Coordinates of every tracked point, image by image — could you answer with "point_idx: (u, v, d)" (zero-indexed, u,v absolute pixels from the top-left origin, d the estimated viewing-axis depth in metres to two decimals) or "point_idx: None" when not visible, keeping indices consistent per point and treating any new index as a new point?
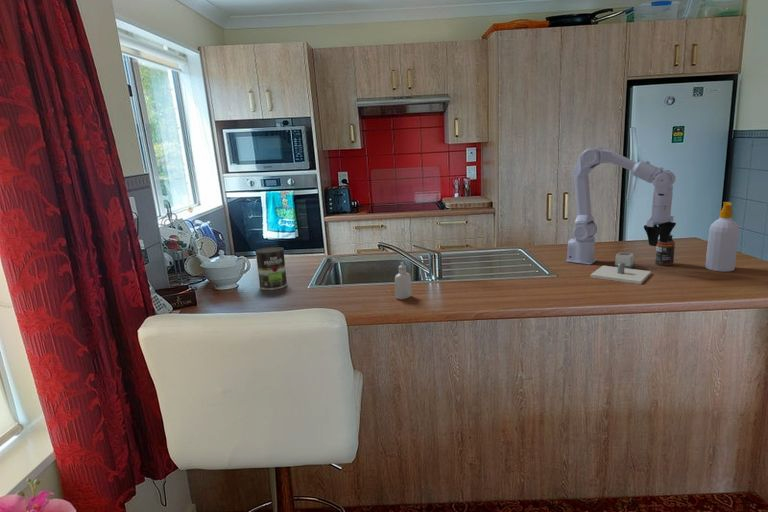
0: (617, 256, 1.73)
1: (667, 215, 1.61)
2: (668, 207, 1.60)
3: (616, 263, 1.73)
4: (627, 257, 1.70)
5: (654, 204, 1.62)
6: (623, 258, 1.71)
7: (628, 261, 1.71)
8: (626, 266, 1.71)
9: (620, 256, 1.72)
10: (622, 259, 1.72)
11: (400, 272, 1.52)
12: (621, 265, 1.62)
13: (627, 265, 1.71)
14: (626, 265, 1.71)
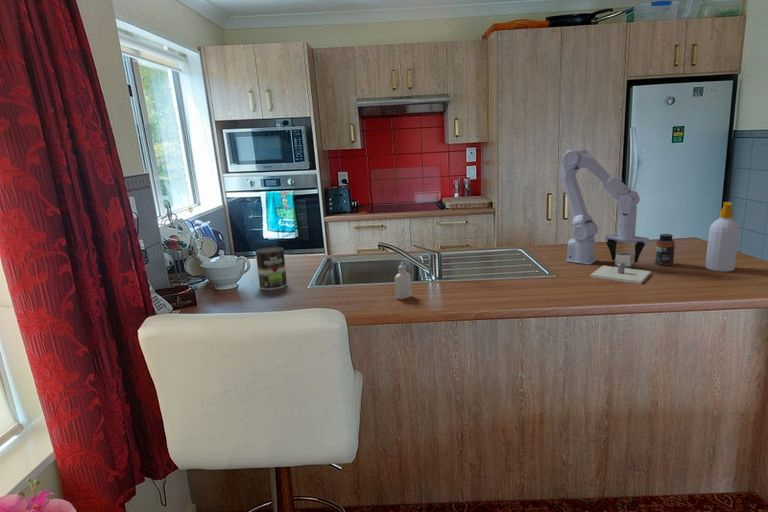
0: (617, 256, 1.73)
1: (621, 233, 1.70)
2: (622, 226, 1.69)
3: (616, 263, 1.73)
4: (627, 257, 1.70)
5: (619, 223, 1.70)
6: (623, 258, 1.71)
7: (628, 261, 1.71)
8: (626, 266, 1.71)
9: (620, 256, 1.72)
10: (622, 259, 1.72)
11: (400, 272, 1.52)
12: (621, 265, 1.62)
13: (627, 265, 1.71)
14: (626, 265, 1.71)
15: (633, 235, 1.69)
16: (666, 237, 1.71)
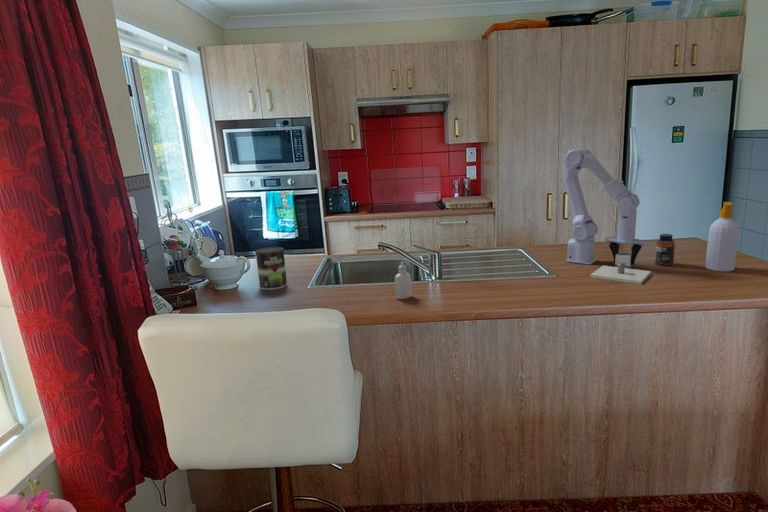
0: (617, 256, 1.73)
1: (621, 236, 1.70)
2: (621, 229, 1.69)
3: (616, 263, 1.73)
4: (627, 257, 1.70)
5: (619, 226, 1.70)
6: (623, 258, 1.71)
7: (628, 261, 1.71)
8: (626, 266, 1.71)
9: (620, 256, 1.72)
10: (622, 259, 1.72)
11: (400, 272, 1.52)
12: (621, 265, 1.62)
13: (627, 265, 1.71)
14: (626, 265, 1.71)
15: (632, 237, 1.69)
16: (666, 237, 1.71)
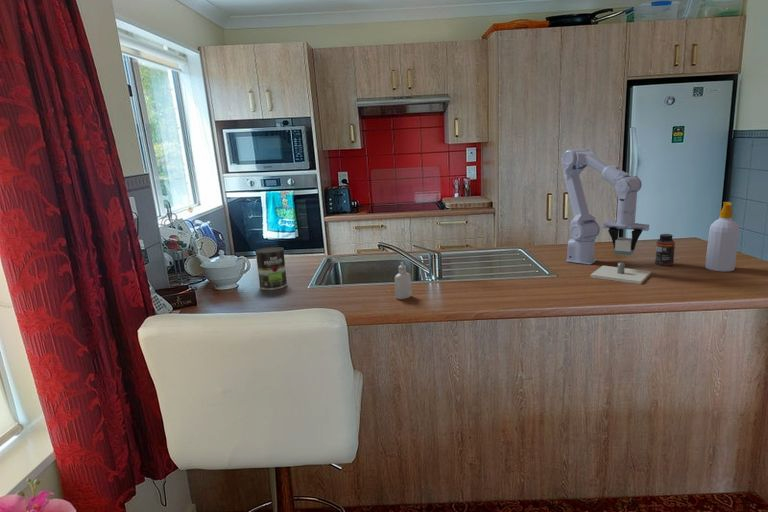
0: (617, 241, 1.65)
1: (621, 220, 1.63)
2: (621, 212, 1.62)
3: (616, 249, 1.66)
4: (627, 242, 1.63)
5: None
6: (623, 243, 1.64)
7: (628, 246, 1.63)
8: (626, 251, 1.64)
9: (620, 241, 1.65)
10: (622, 244, 1.65)
11: (400, 272, 1.52)
12: (621, 265, 1.62)
13: (627, 250, 1.64)
14: (626, 250, 1.64)
15: (633, 221, 1.62)
16: (666, 237, 1.71)
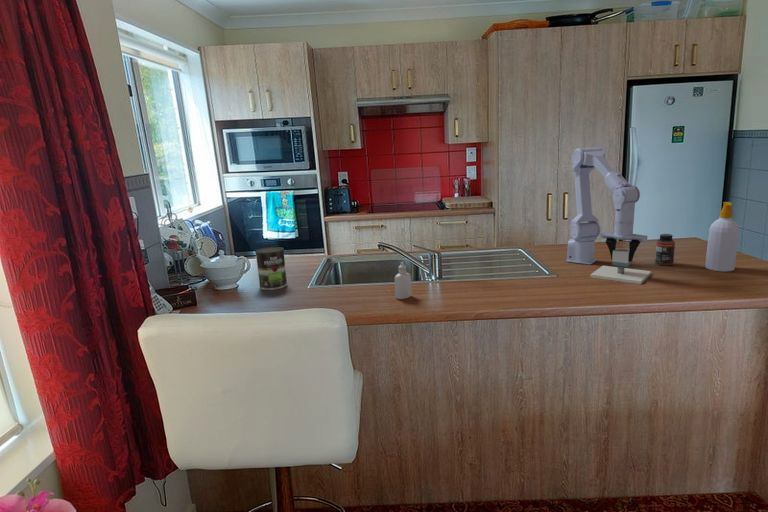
0: (614, 252, 1.62)
1: (618, 231, 1.59)
2: (619, 223, 1.58)
3: (613, 260, 1.63)
4: (625, 253, 1.60)
5: (615, 219, 1.61)
6: (621, 254, 1.61)
7: (626, 258, 1.60)
8: (624, 263, 1.61)
9: (617, 252, 1.61)
10: (620, 255, 1.61)
11: (400, 272, 1.52)
12: None
13: (625, 262, 1.60)
14: (624, 262, 1.60)
15: (630, 232, 1.58)
16: (666, 237, 1.71)
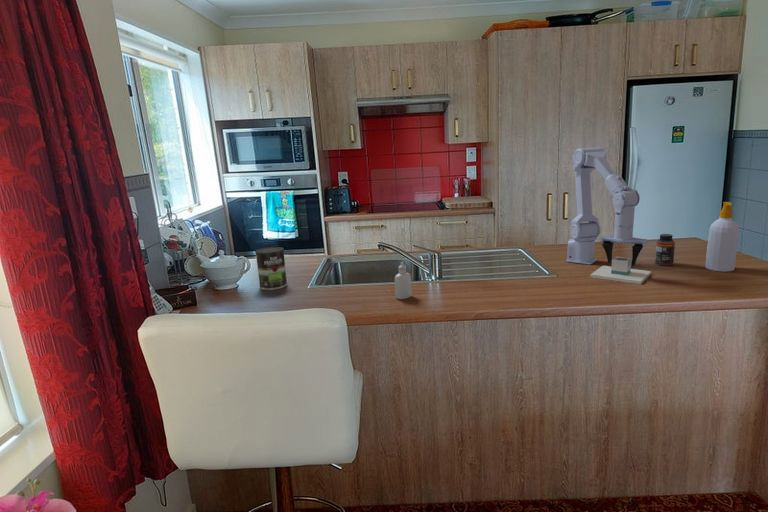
0: (613, 261, 1.63)
1: (618, 234, 1.59)
2: (618, 227, 1.59)
3: (612, 269, 1.63)
4: (624, 262, 1.60)
5: (615, 223, 1.61)
6: (620, 263, 1.61)
7: (625, 267, 1.60)
8: (623, 271, 1.61)
9: (617, 261, 1.62)
10: (619, 264, 1.62)
11: (400, 272, 1.52)
12: None
13: (624, 271, 1.61)
14: (623, 271, 1.61)
15: (630, 236, 1.58)
16: (666, 237, 1.71)
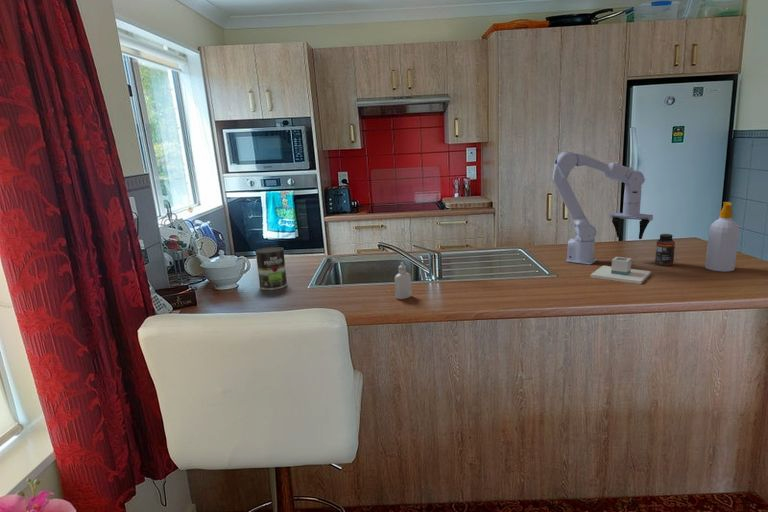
0: (613, 261, 1.63)
1: (626, 210, 1.75)
2: (627, 203, 1.75)
3: (612, 269, 1.63)
4: (624, 262, 1.60)
5: (628, 201, 1.74)
6: (620, 263, 1.61)
7: (625, 267, 1.60)
8: (623, 271, 1.61)
9: (617, 261, 1.62)
10: (619, 264, 1.62)
11: (400, 272, 1.52)
12: None
13: (624, 271, 1.61)
14: (623, 271, 1.61)
15: (637, 212, 1.74)
16: (666, 237, 1.71)
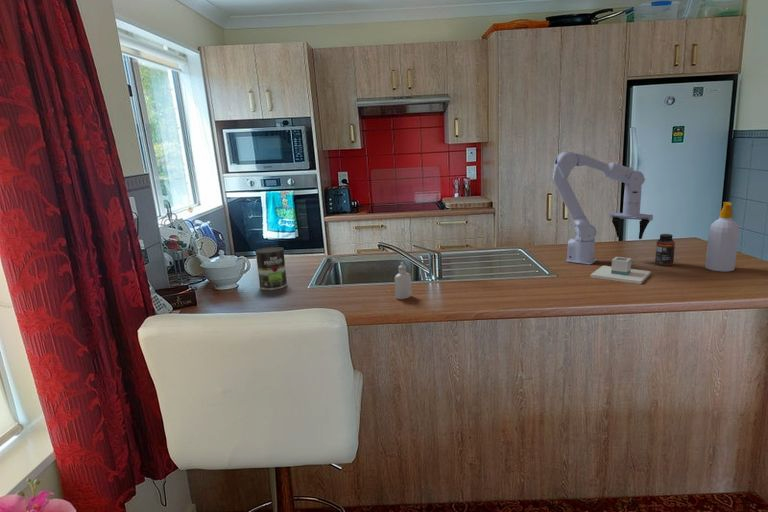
0: (613, 261, 1.63)
1: (626, 210, 1.75)
2: (627, 203, 1.75)
3: (612, 269, 1.63)
4: (624, 262, 1.60)
5: (628, 201, 1.74)
6: (620, 263, 1.61)
7: (625, 267, 1.60)
8: (623, 271, 1.61)
9: (617, 261, 1.62)
10: (619, 264, 1.62)
11: (400, 272, 1.52)
12: None
13: (624, 271, 1.61)
14: (623, 271, 1.61)
15: (637, 212, 1.74)
16: (666, 237, 1.71)
